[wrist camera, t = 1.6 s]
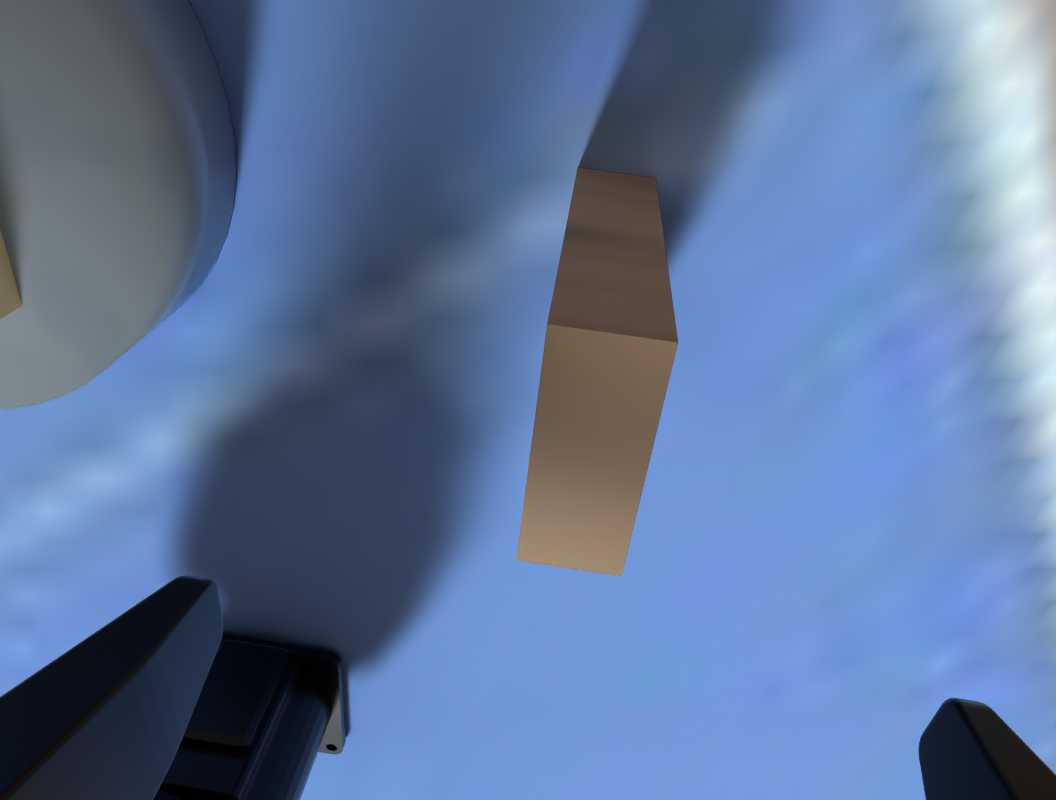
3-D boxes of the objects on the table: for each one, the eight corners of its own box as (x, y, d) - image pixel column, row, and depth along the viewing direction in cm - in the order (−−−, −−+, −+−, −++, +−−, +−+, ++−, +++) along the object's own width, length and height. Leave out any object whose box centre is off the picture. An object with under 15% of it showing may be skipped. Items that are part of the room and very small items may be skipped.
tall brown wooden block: (622, 349, 21) (621, 576, 14) (553, 340, 22) (516, 559, 14) (655, 177, 19) (677, 342, 11) (577, 167, 19) (547, 323, 11)
